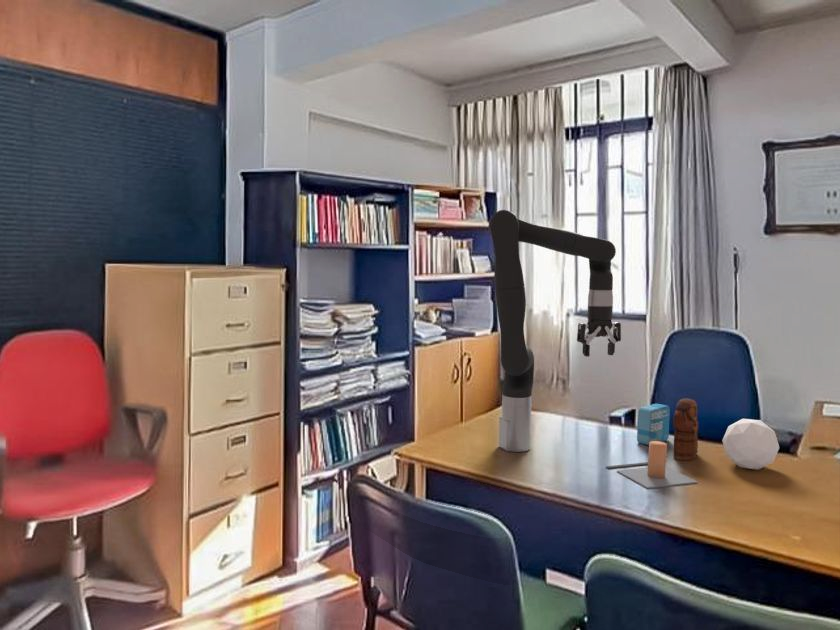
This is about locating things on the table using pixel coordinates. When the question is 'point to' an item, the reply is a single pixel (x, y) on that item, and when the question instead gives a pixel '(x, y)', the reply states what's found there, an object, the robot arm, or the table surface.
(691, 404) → the wooden figurine
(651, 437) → the data package
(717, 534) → the table surface
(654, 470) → the throwing cylinder
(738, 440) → the geometric sphere
